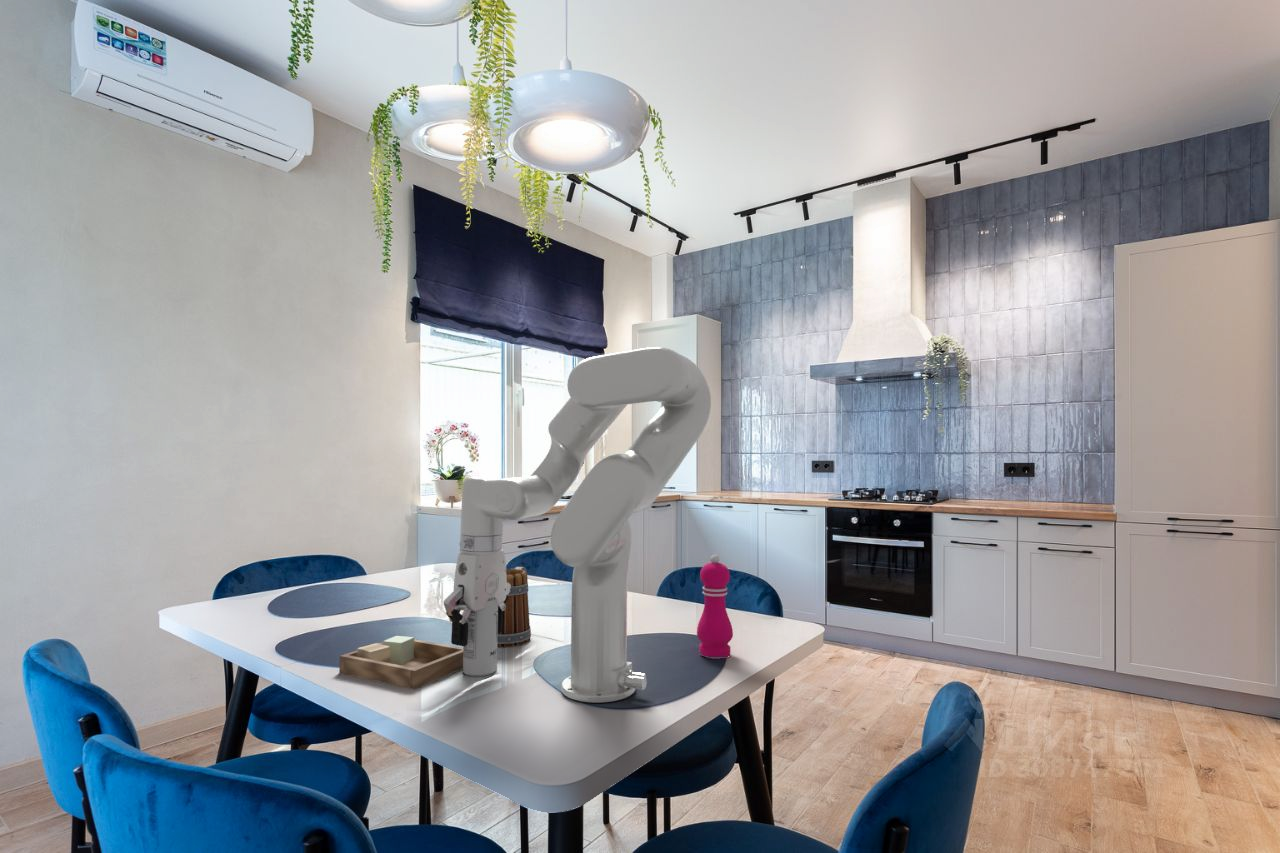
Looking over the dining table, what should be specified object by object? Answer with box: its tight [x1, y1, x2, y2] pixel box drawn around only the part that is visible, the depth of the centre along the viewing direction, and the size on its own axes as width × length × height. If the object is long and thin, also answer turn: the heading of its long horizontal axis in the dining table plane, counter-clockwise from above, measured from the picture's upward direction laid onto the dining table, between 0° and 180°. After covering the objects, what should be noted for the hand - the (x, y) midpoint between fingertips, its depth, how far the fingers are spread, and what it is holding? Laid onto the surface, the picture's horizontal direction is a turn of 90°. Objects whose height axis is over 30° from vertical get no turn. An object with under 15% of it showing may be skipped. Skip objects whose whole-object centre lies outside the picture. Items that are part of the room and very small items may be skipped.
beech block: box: [356, 642, 390, 663], centre depth 121 cm, size 4×4×4 cm
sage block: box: [382, 635, 415, 665], centre depth 126 cm, size 4×4×4 cm
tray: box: [338, 638, 463, 690], centre depth 121 cm, size 18×14×4 cm
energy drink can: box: [462, 593, 498, 680], centre depth 121 cm, size 6×6×15 cm
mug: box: [497, 566, 532, 648], centre depth 143 cm, size 16×11×15 cm
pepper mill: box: [696, 554, 734, 658], centre depth 134 cm, size 7×7×20 cm
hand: (477, 638), depth 121 cm, fingers open, 9 cm apart
